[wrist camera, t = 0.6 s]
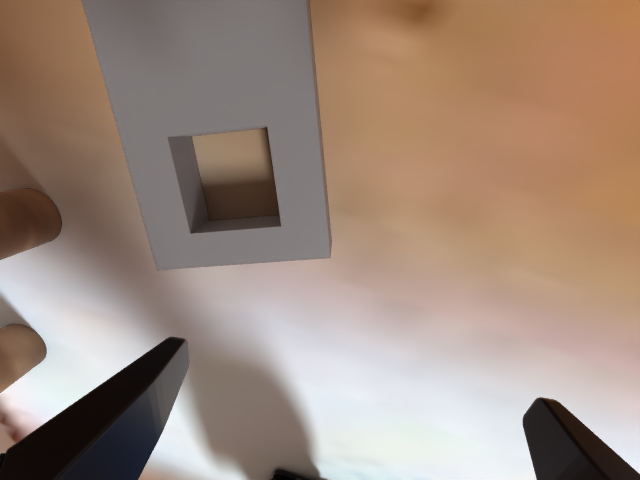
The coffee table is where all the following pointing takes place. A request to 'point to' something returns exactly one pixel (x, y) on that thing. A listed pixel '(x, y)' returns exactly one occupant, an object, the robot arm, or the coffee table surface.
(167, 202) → the pin board
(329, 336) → the coffee table surface
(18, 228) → the tall pin
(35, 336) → the short pin
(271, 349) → the coffee table surface
